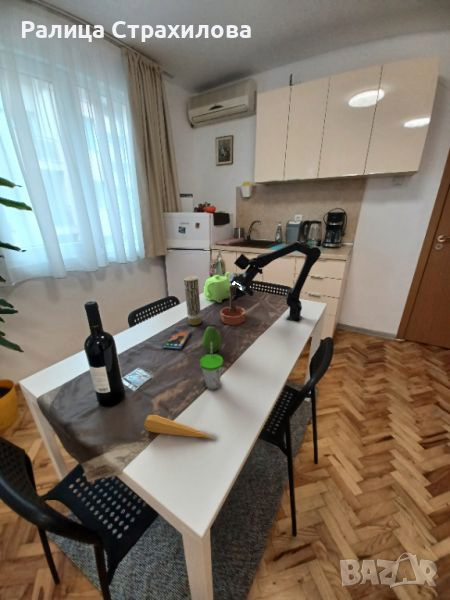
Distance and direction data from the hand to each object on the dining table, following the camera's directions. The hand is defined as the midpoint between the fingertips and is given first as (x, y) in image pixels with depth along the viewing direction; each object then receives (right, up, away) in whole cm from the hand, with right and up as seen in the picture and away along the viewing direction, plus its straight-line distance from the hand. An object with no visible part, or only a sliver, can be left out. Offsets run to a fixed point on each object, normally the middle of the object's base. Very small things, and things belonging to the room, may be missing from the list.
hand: (230, 299), depth 123 cm
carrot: (-15, -38, -57) cm, 70 cm away
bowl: (+2, -11, +5) cm, 12 cm away
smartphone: (-25, -19, -12) cm, 34 cm away
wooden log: (-19, -13, +3) cm, 23 cm away
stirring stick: (+1, -6, +3) cm, 7 cm away
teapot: (-4, +1, +35) cm, 35 cm away
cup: (-7, -30, -40) cm, 51 cm away
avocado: (-8, -22, -21) cm, 32 cm away
